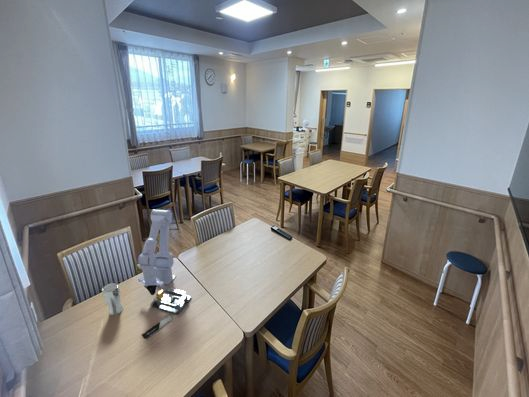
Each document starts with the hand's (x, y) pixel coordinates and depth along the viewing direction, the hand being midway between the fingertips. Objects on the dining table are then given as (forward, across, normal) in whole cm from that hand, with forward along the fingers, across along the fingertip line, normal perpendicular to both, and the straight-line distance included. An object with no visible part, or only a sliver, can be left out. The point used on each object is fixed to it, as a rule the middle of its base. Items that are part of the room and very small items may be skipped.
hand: (153, 293), depth 136 cm
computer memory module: (+3, +15, -15) cm, 21 cm away
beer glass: (+3, -12, -14) cm, 18 cm away
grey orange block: (+1, +8, 0) cm, 8 cm away
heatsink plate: (+3, +12, 0) cm, 12 cm away
